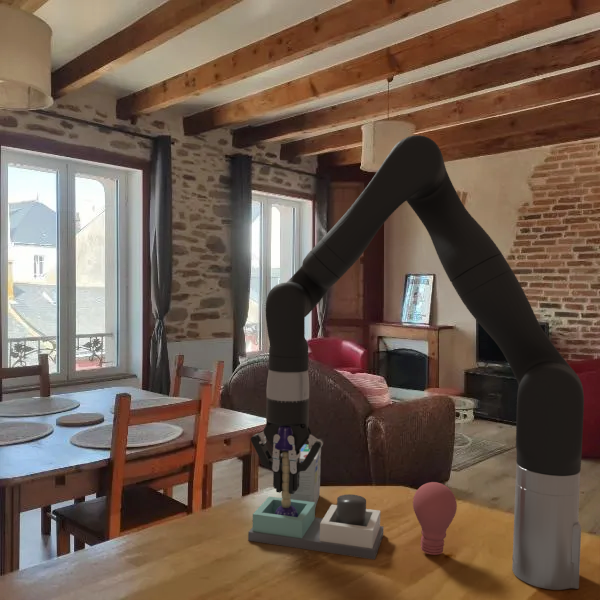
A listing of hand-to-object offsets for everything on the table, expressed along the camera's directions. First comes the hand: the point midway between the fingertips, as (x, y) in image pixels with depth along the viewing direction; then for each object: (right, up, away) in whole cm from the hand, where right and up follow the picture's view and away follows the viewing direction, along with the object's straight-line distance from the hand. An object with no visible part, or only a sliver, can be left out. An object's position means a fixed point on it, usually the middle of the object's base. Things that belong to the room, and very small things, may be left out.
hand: (285, 491), depth 107 cm
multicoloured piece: (+5, -8, -1) cm, 10 cm away
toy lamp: (0, -5, 0) cm, 5 cm away
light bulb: (+25, -9, -7) cm, 27 cm away
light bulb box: (+3, -7, +15) cm, 17 cm away
